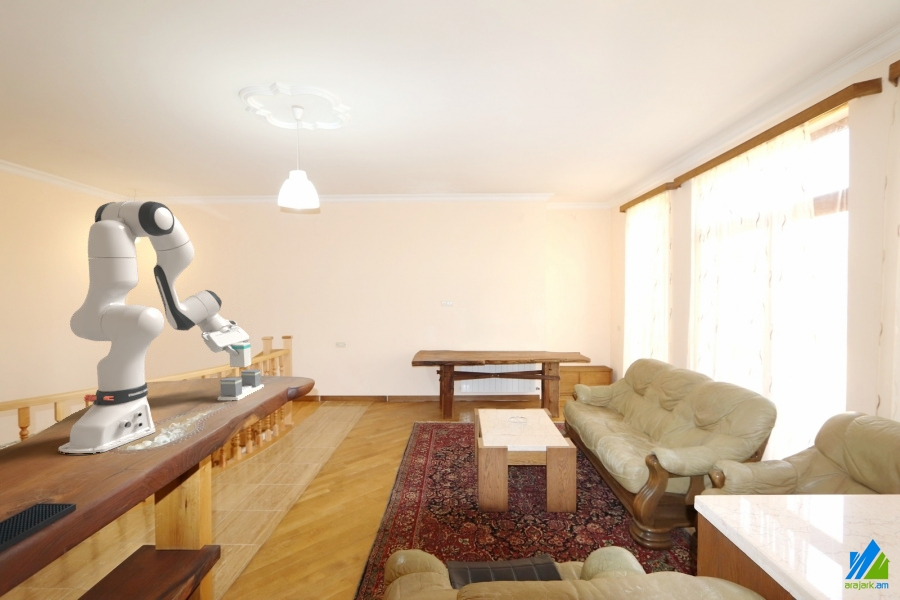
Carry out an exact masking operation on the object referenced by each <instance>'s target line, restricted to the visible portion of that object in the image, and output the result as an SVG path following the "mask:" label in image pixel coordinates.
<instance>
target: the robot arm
mask: <svg viewBox="0 0 900 600" xmlns="http://www.w3.org/2000/svg"><path fill="white" fill-rule="evenodd" d="M146 237H147V238H148V239H149V242H150V244H151V245H152V247H153V249H154V252H155V254H156V264H155V266H154V267H153V276H154V279H155V282H156V285H157V289H158V291H159V296H160V298H161V301H162V304H163V307H164V312H165V317H164V315H163V314H162V312H161V311H160V309H158V308H155V307H152V306H148V305H142V304H126V300H127V297H128V294H129V293H130V291H132V290H133V289H135V288H136V287H137V286H138V283H139V270H138V259H137V258H138V256H137V250H136V244H135V241H136V240H137V238H146ZM195 254H196V253H195V247H194V244H193V243H192V241H191V239H190V236H189V235H188V233H187V231H186V230H185V228H184V227H183V225H182V223H181V222H180V220H179V219H178V218H177V217H176V216H175V215H174V214H173V212H172V211H171V209H170V208H169V207H168V206H167V205H166V204H164V203H161V202H157V201H152V200H151V201H140V200H138V201H135V200H124V201H112V202H107V203H103V204H102V205H100V206H99V207H98V208H97V209H96V211H95V214H94V223H92V225H91V226H90V227H89V232H88V239H87V257H88V258H87V260H88V271H89V274H88V275H89V285H88V291H87V294H86V298H85V300H84V301H83V303H82V305H81V306H80V307H79V308H78V309H77V310H76V311H75V312H73V314H72V316H71V318H70V321H69V322H70V323H69V325H70V329H71V332H72V333H73V334H74V335H75V336H76V337H78V338H80V339H84V340H88V341H93V342H111V346H110V349H109V352H108V354H107V355H105V357H103V358H101V359H100V360H99V361H98V362H97V365H96V374H97V388H98V389H97V390H96V392H95V394H85V396H84V397H83V401H84V402H86V403H87V402H88V403H89V402H91V403H92V406H91V407H90V408H89V409H88V410H86V412H85V413H84V414H83V415H82V416H81V417H80V418H79V419H78V420H77V421H76V422H75V423H74V424H73V425H72V426H71V428H70V435H69V442H66V443H64V444H62V445H60V446H59V447H58V451H59V450H60V451H63V452H69V453H93V454H97V453H96V452H100V453H105V452H107V451H110V450H112V449H115V448H118V447H120V446H123V445H126V444H128V443H131V442H134V441H136V440H138V439H141V438H144V437H146V436H148V435H151V434H154V433H156V427H155V423H154V421H153V418H152V413H151V408H150V405H149V402H148V399H147V398H148V397H147V396H148V394H149V392H148V391H149V387H148V383H147V382H146V367H145V366H146V356H147V354H148V353H147V352H148V350H149V347H150V345H151V344H152V343H153V341H154V340H155V339H156V338H158V337H159V336H160V334H161V333H162V332H163V330H164V328H165V323H166V322H165V321H166V320H167V322H168V323H169V325H170V326H171V328H173V329H174V330H177V331H185V332H186V331H189V330H190V329H192V328H194V327H195V326H198V327H199V329H200V331H201V332H202V333H201V338H202V339H203V342H204V344H205V345H206V346H207V347H208V348H209V350H210V351H211V352H212V353H215V354H217V353H221V352H223V351H225V352H226V353H228V354H229V355H230V354H232V355H233V356H234V357H236V356H238V355H239V352H238V351H237V350H236V351H235V350H234V349H232V347H231V346H230V345H232V344H236V343H249V342H248V341H250V335H249V334H248V333H247V332H246V331H245V330H244V329H243V328H242V327H240V326H238V325H239V324H238V322H237V321H235V320H229V319H227V318H224V317H223V316H222V315H220V314H219V312H220V310H221V307H222V299H221V298H220V297H219V296H218V295H217V294H216V293H215V292H214V291H212V290H209V289H203V290H201V291H198V293H195V294H193V295H190V296H189V297H187V298H186V299H184V300H183V301H180V299H179V297H178V293H177V290H176V286H175V284H176V281H177V279H178V277H179V276H180V275H181V274H182V273H183V272H184V271H185V269H187V268H188V267H189V266H190V265H191V264H192V263H193V260H194V257H195ZM165 318H166V320H165Z"/></svg>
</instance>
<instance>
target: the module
mask: <svg viewBox="0 0 900 600" xmlns="http://www.w3.org/2000/svg"><path fill="white" fill-rule="evenodd" d="M230 346H231V347H232V349H234V350H235V351H236V350H237V351H238V352H239V355H238V356H236V357H234V356H233V355H232V354H230V353H229V367H230V368H247V367H249V366H251V365H252V353H251V352H252V350H251V342H247V343H236V344H232V345H230Z"/></svg>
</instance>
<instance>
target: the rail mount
mask: <svg viewBox="0 0 900 600" xmlns="http://www.w3.org/2000/svg"><path fill="white" fill-rule="evenodd" d="M261 375H262V374H261V369H255V368H254V369H253V368H250V369H249V368H248V369H244V370H241V371H240V377H239V376H238V377H232V376H230V377H228V376H227V377H225V378H222V379H220V380H219V385H220V395H219V396H217V401H232V400H238V401H240V400H242V399H244V398H246V397H247V395H248V396H249V394H250V395H252V394H254V393H255V391H256V392H257V390H258V391H259V390H262V389H263V388H264V387H265V384H262V380H261V378H262V377H261ZM262 387H263V388H262ZM253 392H254V393H253ZM251 393H252V394H251ZM245 396H246V397H245Z"/></svg>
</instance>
